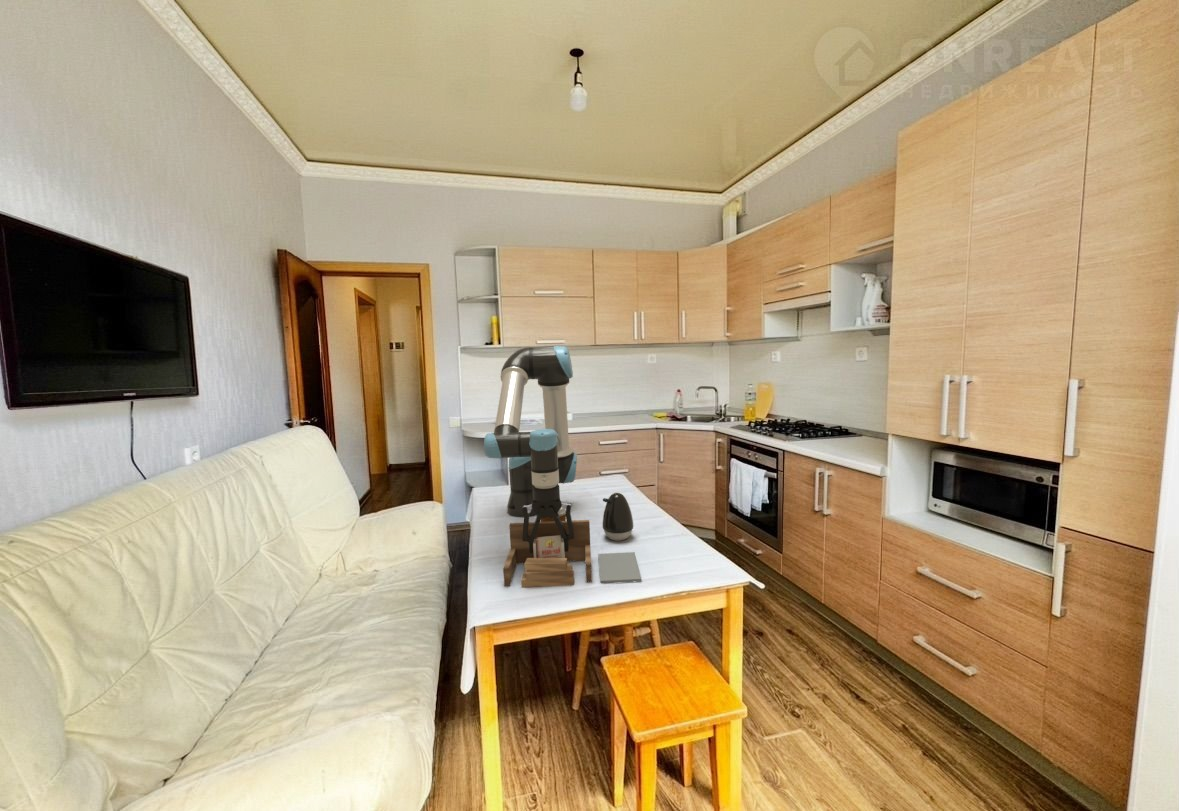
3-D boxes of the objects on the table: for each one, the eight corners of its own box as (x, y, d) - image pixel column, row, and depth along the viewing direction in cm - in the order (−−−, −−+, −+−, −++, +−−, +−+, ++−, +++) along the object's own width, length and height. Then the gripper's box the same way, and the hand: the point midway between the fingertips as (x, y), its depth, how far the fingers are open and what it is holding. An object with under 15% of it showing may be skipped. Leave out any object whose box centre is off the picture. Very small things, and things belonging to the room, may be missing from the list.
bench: (512, 561, 133) (510, 523, 132) (590, 558, 134) (589, 519, 132) (504, 586, 120) (501, 543, 118) (591, 582, 120) (590, 539, 118)
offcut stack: (523, 578, 123) (522, 558, 122) (574, 576, 123) (573, 555, 122) (521, 588, 118) (520, 566, 117) (574, 585, 118) (573, 564, 117)
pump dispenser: (596, 535, 150) (595, 492, 148) (622, 528, 155) (621, 486, 153) (613, 546, 141) (611, 500, 139) (639, 539, 146) (638, 494, 144)
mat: (598, 556, 135) (598, 553, 135) (634, 554, 135) (634, 552, 135) (600, 583, 119) (600, 580, 119) (641, 581, 119) (641, 578, 119)
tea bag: (538, 568, 129) (536, 534, 128) (561, 565, 130) (559, 532, 129) (538, 574, 125) (536, 540, 124) (562, 571, 126) (561, 537, 125)
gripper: (507, 490, 121) (512, 570, 123) (581, 487, 121) (585, 567, 124) (511, 482, 128) (516, 558, 131) (581, 479, 128) (585, 555, 131)
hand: (549, 562), depth 127 cm, fingers closed on tea bag, 7 cm apart
